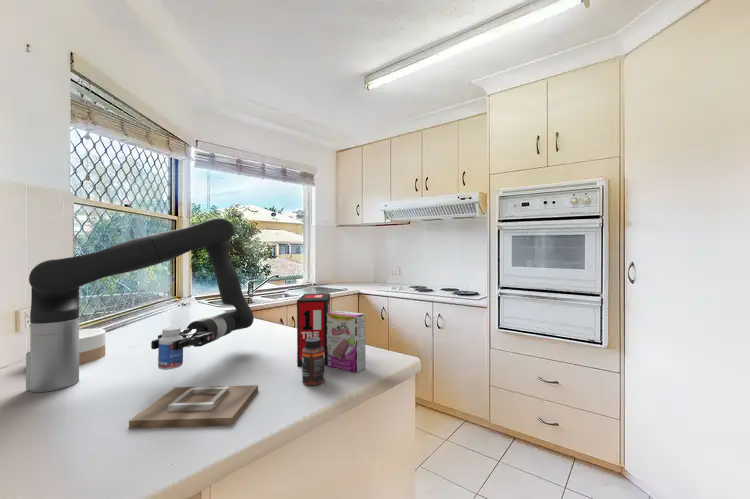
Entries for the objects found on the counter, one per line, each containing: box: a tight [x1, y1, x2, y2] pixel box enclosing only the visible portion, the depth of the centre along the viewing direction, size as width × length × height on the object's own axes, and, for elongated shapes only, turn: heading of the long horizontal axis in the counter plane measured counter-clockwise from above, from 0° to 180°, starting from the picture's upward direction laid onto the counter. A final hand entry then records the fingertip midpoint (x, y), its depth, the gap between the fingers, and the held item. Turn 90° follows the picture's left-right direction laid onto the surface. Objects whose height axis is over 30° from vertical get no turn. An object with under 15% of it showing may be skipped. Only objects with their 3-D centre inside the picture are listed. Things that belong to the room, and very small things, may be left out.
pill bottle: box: [157, 326, 184, 371], centre depth 84 cm, size 6×5×10 cm
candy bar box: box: [326, 310, 366, 374], centre depth 96 cm, size 11×5×16 cm, turn 59°
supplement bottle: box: [301, 338, 326, 386], centre depth 86 cm, size 6×6×11 cm
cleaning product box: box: [296, 292, 331, 368], centre depth 107 cm, size 16×9×20 cm, turn 4°
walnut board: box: [128, 384, 259, 429], centre depth 72 cm, size 20×16×3 cm
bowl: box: [79, 328, 106, 366], centre depth 107 cm, size 17×17×8 cm
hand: (163, 345), depth 81 cm, fingers closed on pill bottle, 5 cm apart
